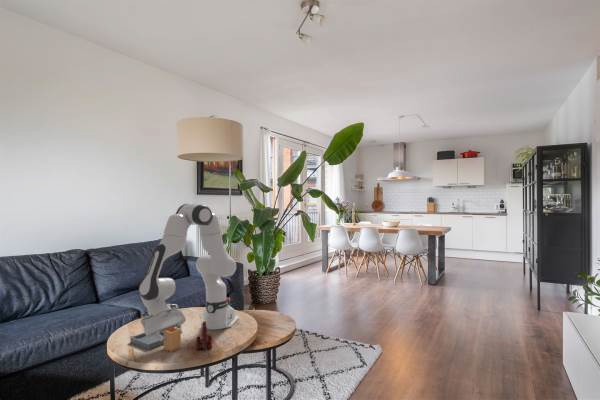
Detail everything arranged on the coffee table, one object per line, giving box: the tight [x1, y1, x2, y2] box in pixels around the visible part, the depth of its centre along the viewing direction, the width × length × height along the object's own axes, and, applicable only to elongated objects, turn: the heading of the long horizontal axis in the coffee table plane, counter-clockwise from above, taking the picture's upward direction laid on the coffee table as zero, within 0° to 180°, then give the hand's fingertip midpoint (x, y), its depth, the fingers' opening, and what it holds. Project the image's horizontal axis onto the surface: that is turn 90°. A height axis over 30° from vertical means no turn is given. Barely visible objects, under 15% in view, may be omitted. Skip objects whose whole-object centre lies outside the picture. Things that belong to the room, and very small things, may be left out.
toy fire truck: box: [196, 322, 213, 351], centre depth 167 cm, size 7×12×10 cm, turn 16°
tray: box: [130, 331, 164, 351], centre depth 173 cm, size 16×14×2 cm
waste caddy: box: [163, 327, 182, 353], centre depth 164 cm, size 6×5×9 cm
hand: (172, 336), depth 164 cm, fingers open, 8 cm apart
